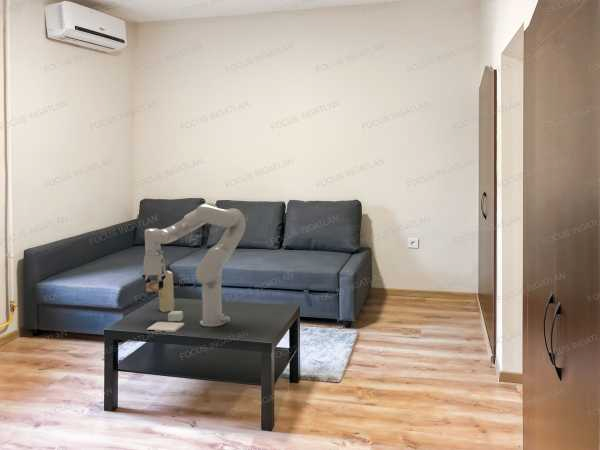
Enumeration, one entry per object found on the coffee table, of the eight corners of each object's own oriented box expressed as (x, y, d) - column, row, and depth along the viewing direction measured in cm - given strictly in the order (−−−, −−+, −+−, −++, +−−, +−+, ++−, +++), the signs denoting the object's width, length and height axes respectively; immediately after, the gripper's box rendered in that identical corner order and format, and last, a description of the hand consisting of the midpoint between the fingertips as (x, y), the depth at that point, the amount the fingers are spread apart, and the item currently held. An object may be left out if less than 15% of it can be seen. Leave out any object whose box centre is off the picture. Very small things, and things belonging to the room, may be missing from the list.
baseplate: (184, 324, 279) (184, 323, 279) (174, 332, 268) (174, 330, 268) (157, 323, 282) (157, 321, 282) (147, 330, 270) (146, 328, 270)
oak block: (163, 289, 287) (162, 281, 287) (157, 291, 281) (157, 283, 281) (152, 288, 289) (152, 280, 288) (146, 291, 283) (146, 283, 282)
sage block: (183, 318, 292) (182, 311, 291) (179, 321, 286) (179, 314, 285) (171, 318, 292) (171, 310, 292) (168, 321, 286) (167, 314, 286)
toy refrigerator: (157, 309, 310) (156, 271, 307) (170, 307, 313) (169, 270, 311) (161, 312, 303) (159, 274, 300) (174, 310, 306) (173, 272, 304)
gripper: (172, 252, 285) (173, 286, 287) (141, 251, 288) (142, 285, 290) (165, 254, 277) (167, 290, 279) (133, 253, 281) (135, 289, 283)
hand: (154, 287), depth 285 cm, fingers closed on oak block, 6 cm apart
